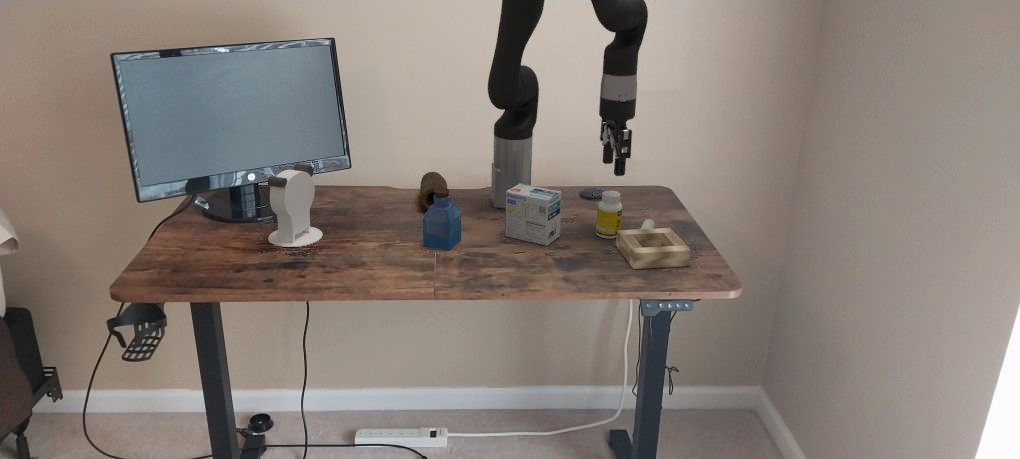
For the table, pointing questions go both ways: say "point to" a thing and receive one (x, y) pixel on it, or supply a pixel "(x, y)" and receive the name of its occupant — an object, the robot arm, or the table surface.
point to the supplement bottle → (609, 215)
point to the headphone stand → (293, 207)
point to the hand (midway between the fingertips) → (613, 169)
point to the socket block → (653, 248)
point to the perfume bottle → (442, 222)
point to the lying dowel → (648, 224)
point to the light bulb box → (533, 214)
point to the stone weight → (430, 187)
